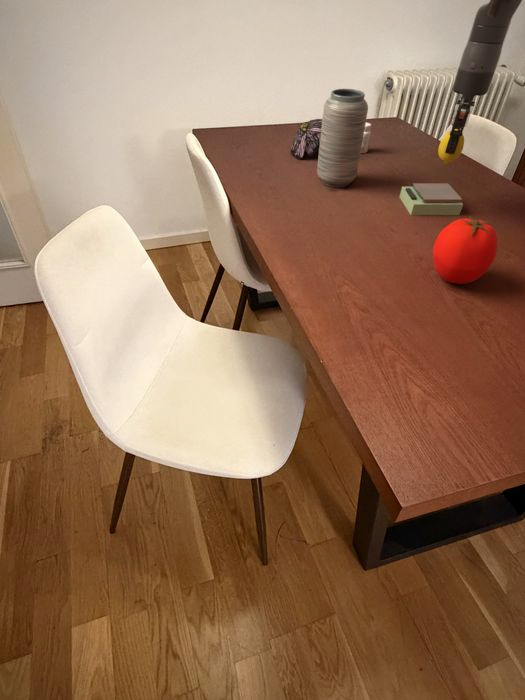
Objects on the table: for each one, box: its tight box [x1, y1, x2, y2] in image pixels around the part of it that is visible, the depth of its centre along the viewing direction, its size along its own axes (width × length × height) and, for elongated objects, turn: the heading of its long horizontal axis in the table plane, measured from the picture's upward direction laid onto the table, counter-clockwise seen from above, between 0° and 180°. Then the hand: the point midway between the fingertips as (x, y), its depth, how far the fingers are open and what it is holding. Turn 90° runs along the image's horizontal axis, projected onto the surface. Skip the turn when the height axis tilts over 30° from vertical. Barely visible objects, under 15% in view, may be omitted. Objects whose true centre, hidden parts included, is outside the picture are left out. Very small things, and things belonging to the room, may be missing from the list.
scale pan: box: [411, 182, 463, 202], centre depth 107 cm, size 10×10×1 cm
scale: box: [398, 186, 464, 216], centre depth 108 cm, size 13×11×4 cm
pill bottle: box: [360, 122, 372, 154], centre depth 136 cm, size 5×5×8 cm
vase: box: [316, 88, 369, 188], centre depth 112 cm, size 12×12×23 cm
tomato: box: [432, 215, 498, 285], centre depth 80 cm, size 12×12×13 cm
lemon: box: [437, 129, 465, 165], centre depth 99 cm, size 6×6×8 cm
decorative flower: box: [289, 118, 323, 161], centre depth 133 cm, size 15×12×15 cm
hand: (450, 149), depth 99 cm, fingers closed on lemon, 5 cm apart
